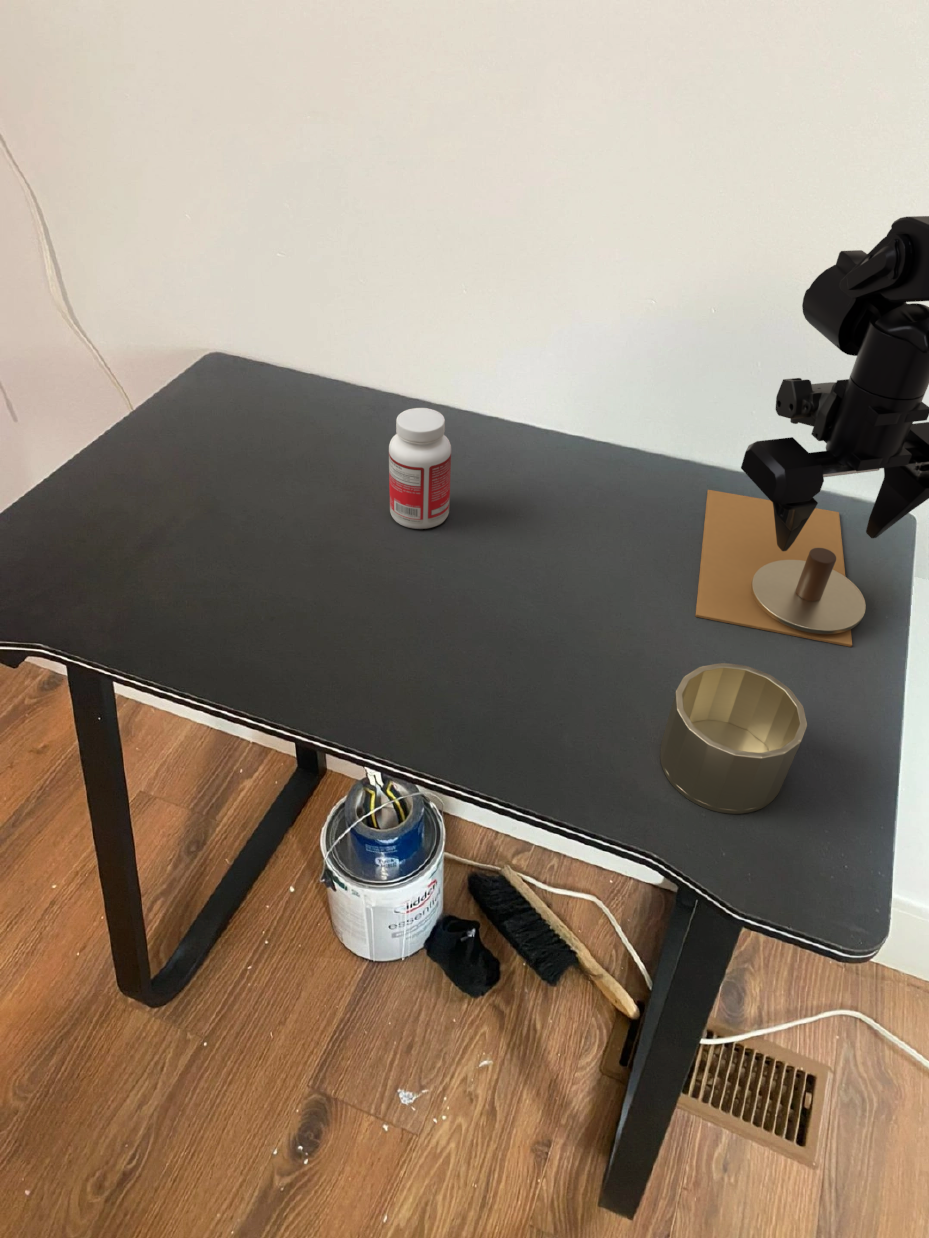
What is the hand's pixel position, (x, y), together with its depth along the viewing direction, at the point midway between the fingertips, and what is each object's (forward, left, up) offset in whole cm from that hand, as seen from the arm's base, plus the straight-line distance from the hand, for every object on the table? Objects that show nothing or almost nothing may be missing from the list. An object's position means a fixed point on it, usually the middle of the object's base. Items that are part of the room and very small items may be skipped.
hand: (826, 541), depth 83 cm
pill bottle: (+39, -3, -7) cm, 40 cm away
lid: (0, 0, -6) cm, 6 cm away
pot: (+7, +23, -7) cm, 25 cm away
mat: (+3, -6, -7) cm, 10 cm away
